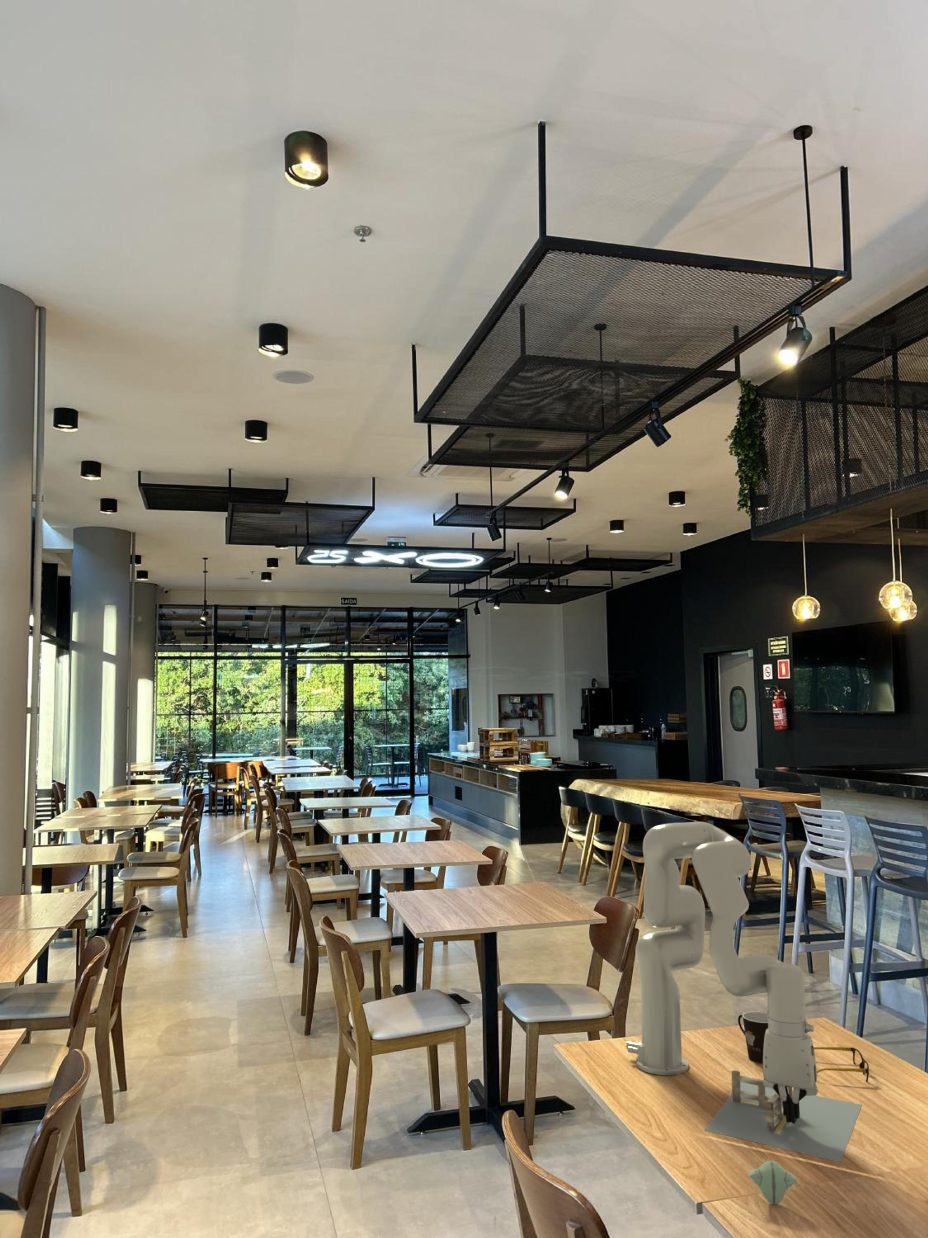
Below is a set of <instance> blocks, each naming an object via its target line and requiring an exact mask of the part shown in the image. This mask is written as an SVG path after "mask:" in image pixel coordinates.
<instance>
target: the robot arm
mask: <svg viewBox="0 0 928 1238" xmlns="http://www.w3.org/2000/svg"><path fill="white" fill-rule="evenodd" d="M642 853H643V860H644V882H643V883H644V886H643V887H644V891H643V918H644V920H645V921H646V923H647V924H648V925H649V926H651V927H653V928H659V929H662V928H664V929H665V928H672V927H674V929H668V930H666V929H665V930H659V931H653V932H649V933H645V934H643V936H641V937H640V938H639V939H638V941H637V942H636V945H635V957H636V962H637V968H638V973H639V984H640V985H639V986H640V1006H641V1008H640V1009H641V1010H640V1011H641V1012H640V1017H641V1042H639V1043H637V1042H635V1041H630V1040H628V1041H626V1049H627V1053H632V1054H636V1055H637V1057H636V1058H635V1064H636V1065H635V1066H637V1068H638V1069H640V1070H641V1071H644V1072H645V1073H649V1074H652V1075H658V1076H676V1075H679V1074H682V1073H685V1072H687V1071H688V1070H689V1061H688V1060H687V1059H686V1058H685V1057H683V1056H682V1054H683V1051H682V1048H683V1046H682V1017H681V1016H682V1015H681V1014H682V1010H681V992H680V991H681V990H680V988H679V984H678V983H677V981H676V979H675V977H674V975H673V972H677V971H680V970H681V971H682V970H686V969H691V968H694V967H696V966H698V965H699V964H700V963H701V961H702V959H703V956H704V949H705V929H706V928H705V926H706V925H705V924H706V908H705V907H706V906H705V903H704V900H703V899H704V898H703V897H702V895H701V893H700V892H699V890H698V889H696V888H695V887H694V886H691V885H687V884H684V885H683V884H682V885H681V884H680V881H681V879H680V877H681V875H680V869H679V867H678V864H677V862H676V860H679V859H691V862H692V866H693V868H694V871H695V874H696V875H697V878H698V881H699V884H700V886H701V889H702V891H703V894H704V897H705V898H706V901H707V903H708V906H709V909H710V911H711V914H712V921H711V925H710V930H709V939H708V943H709V948H708V949H709V954H710V957H711V961H712V963H713V966H714V968H715V971H716V974H717V976H718V979H719V981H720V983H721V984H722V987H723V988H724V989H725V990H726V991H727V992H728V993H729V994H731V995H732V996H735V997H738V998H739V997H740V998H741V997H748V996H749V997H750V996H753V995H758V994H766V1004H767V1013H768V1029H766V1032H765V1038H764V1049H763V1063H762V1075H763V1079H762V1080H763V1085H764V1086H767V1087H769V1088H771V1089H774V1090H775V1092H776V1093H777V1094H778V1095H779V1096H780V1098H781V1100H782V1101H783V1115H784V1116H786V1122H788V1123H789V1122H792V1123H793V1124H795V1122H796V1120H797V1118H798V1119H799V1117H800V1108H799V1101H800V1100H801V1099H802V1098H804V1097H805V1096H814V1095H816V1096H818V1092H819V1089H818V1086H817V1082H818V1073H817V1071H818V1069H817V1063H816V1062H817V1061H816V1053H815V1049H814V1043H813V1038H812V1035H811V1034H810V1033H814V1031H815V1026H814V1024H810V1023H809V1021H808V1019H807V1016H806V1011H807V1010H806V997H805V995H806V994H805V977H804V975H805V974H804V972H803V970H802V968H801V967H800V966H798V965H795V964H792V963H789V962H788V963H787V962H783V961H781V960H780V959H777V958H776V957H773V956H772V955H769V954H758V955H753V956H752V955H750V956H746V957H745V956H744V957H740V958H739V956H738V953H737V951H736V948H735V943H734V940H733V929H734V926H735V924H736V922H737V921H738V919H739V918H740V917H742V916H743V915H744V914H745V913H746V912H747V911H748V910H749V906H750V903H749V902H750V901H748V898H747V896H746V893H745V890H744V888H743V886H742V883H741V881H740V880H739V877H743V876H745V875H747V874H748V873H749V872H750V871H751V868H752V856H751V853H750V852H749V850H748V848H747V847H746V846H745V844H743V843H742V841H740V840H738V839H737V838H736V837H734V836H732V835H730V834H729V833H728V832H725V831H724V830H722V829H721V828H719V827H717V826H715V825H713V823H712V824H711V823H708V822H706V821H705V822H704V821H692V822H691V821H690V822H689V821H688V822H671V823H662V824H658V825H655V826H653V827H651V828H650V829H649V830H648V831H647V832H646V834H645V835H644V838H643V841H642ZM788 1086H789V1087H792V1091H793V1097H792V1099H791V1097H790V1095H789V1091H788Z"/></svg>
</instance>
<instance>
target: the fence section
mask: <svg viewBox="0 0 928 1238" xmlns="http://www.w3.org/2000/svg"><path fill="white" fill-rule="evenodd" d="M763 1080H764V1079H761V1078H755V1077H750V1076H746V1075H741V1072H740V1071H739V1070H731V1093H732V1100H733V1101H734V1102H740V1101H741V1097H742V1098H747V1099H751V1100H756V1101H759V1107H763V1108H765V1103H766V1102H767V1101H768V1100H769V1099H770V1098H771V1097H769V1096H765V1087H767V1086H764V1085H763ZM740 1082H743V1083H748V1084H753V1085H758V1094H754V1093H750V1092H745V1091H741V1086H740ZM768 1088H769V1087H768ZM788 1088H789V1095H790V1097H791V1099H792V1097H793V1096H792V1091H793V1087H789V1086H788ZM781 1106H782V1101H781Z"/></svg>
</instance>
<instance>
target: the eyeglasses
mask: <svg viewBox="0 0 928 1238" xmlns="http://www.w3.org/2000/svg"><path fill="white" fill-rule="evenodd" d="M813 1047H814V1046H813ZM814 1050H824V1051H825V1050H826V1051H827V1050H828V1051H842V1052H843V1051H844V1052H851V1053H852V1061H853V1065H855V1066H856V1065H857V1064H856V1060H855V1058H856V1056H855V1055H856V1052H857V1053H858V1054H859V1056H860V1059H861V1062H859V1065H858V1067H859V1068H858V1067H856V1068H855V1067H852V1068H851V1067H848V1068H847V1067H833V1068H832V1067H826V1068H820V1069H817V1074H819V1073H820V1072H823V1071H835V1072H855V1073H862V1076H863V1075H865V1076H866V1080H865V1082H866V1083H868V1082H869V1074H870V1069H869V1068H870V1065H869V1063H868V1061H867V1060H865V1059H864V1057H863V1055H862V1053H861V1051H860V1050H858V1049H857V1048H855V1047H849V1046H847V1047H846V1046H844V1047H843V1046H841V1047H840V1046H816V1047H814ZM865 1064H866V1065H865ZM865 1066H866V1068H865Z"/></svg>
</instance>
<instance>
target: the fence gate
mask: <svg viewBox="0 0 928 1238" xmlns="http://www.w3.org/2000/svg"><path fill="white" fill-rule="evenodd" d="M788 1091H789V1088H788ZM781 1101H782V1100H781V1098H780V1096H779V1095H778V1094H777V1093H775V1094H774V1095H773V1096H772V1097H771V1098H770V1099H769V1100H768V1101H767V1102H766V1103H765V1108H766V1128H769V1129H773V1128H774V1127H775V1126H776V1125H777V1124H778V1123H779V1122H780V1121H781V1120H782V1119H783V1118H784V1117H785V1116H784V1115H783V1101H782V1106H781ZM773 1109H774V1111H773Z"/></svg>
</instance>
